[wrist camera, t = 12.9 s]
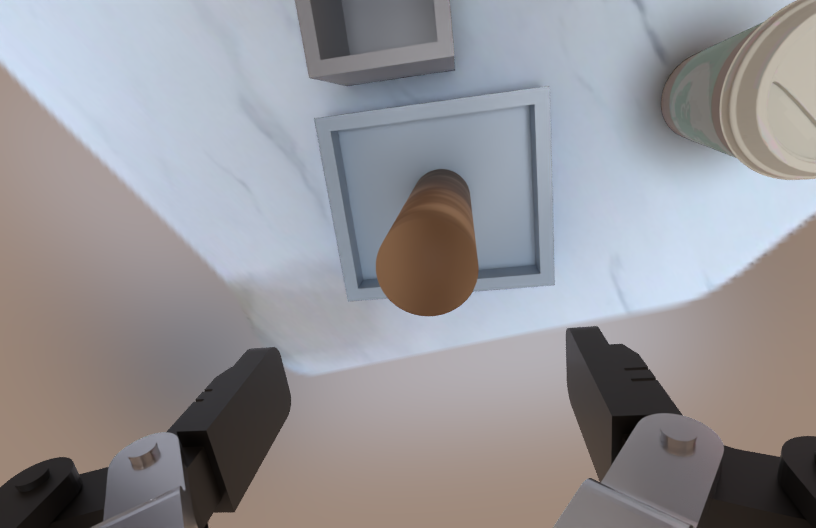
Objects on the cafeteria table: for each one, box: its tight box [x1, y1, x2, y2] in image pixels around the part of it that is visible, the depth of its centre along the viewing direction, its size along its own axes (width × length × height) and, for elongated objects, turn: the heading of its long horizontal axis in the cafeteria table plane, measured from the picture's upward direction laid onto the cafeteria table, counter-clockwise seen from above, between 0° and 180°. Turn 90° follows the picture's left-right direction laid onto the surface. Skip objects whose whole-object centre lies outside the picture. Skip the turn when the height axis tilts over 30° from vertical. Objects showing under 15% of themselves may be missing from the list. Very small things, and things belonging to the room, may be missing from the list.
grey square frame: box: [295, 0, 455, 86], centre depth 27 cm, size 8×8×9 cm
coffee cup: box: [661, 0, 816, 180], centre depth 25 cm, size 8×9×12 cm
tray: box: [314, 86, 555, 301], centre depth 34 cm, size 16×14×3 cm
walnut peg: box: [376, 169, 479, 316], centre depth 26 cm, size 4×4×16 cm
